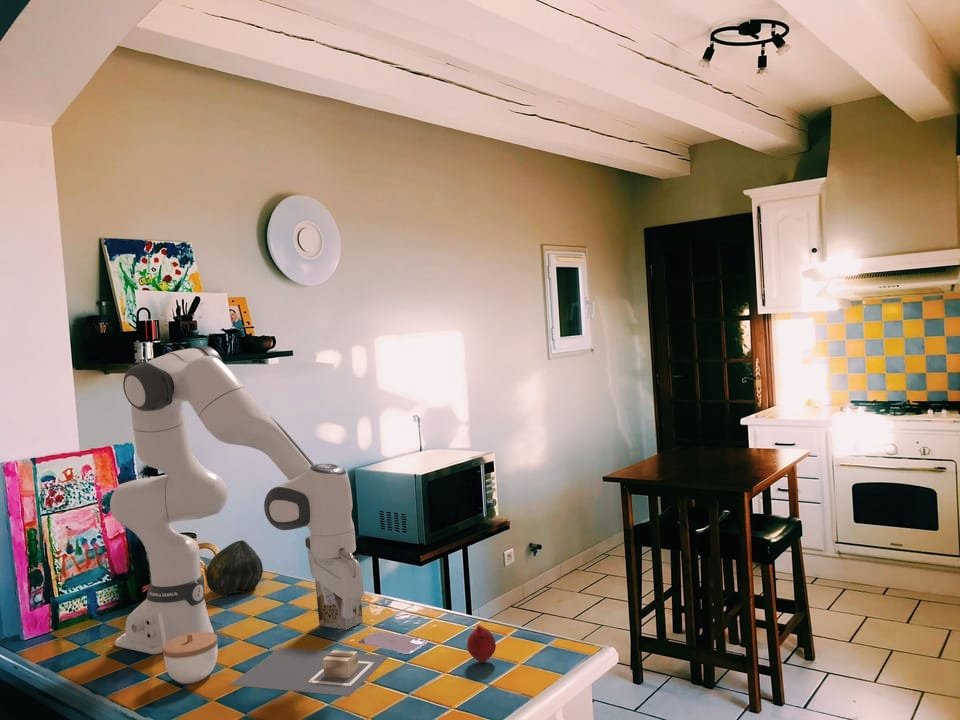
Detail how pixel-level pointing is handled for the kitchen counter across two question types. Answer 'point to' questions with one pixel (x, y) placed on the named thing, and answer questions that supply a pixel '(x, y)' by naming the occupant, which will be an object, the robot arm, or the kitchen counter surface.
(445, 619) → the kitchen counter surface
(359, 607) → the coffee box
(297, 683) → the rubber mat
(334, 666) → the taped cardboard box
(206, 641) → the lidded jar
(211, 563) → the squash
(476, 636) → the onion
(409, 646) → the mobile phone
